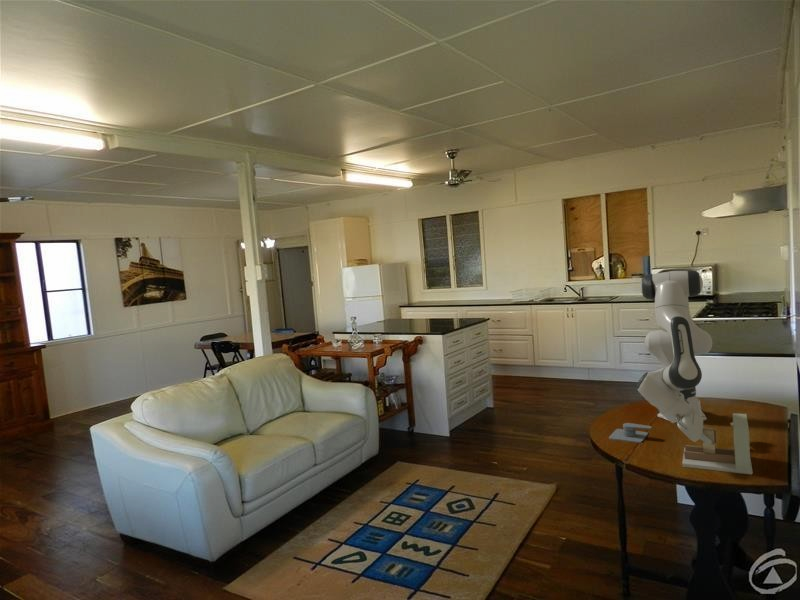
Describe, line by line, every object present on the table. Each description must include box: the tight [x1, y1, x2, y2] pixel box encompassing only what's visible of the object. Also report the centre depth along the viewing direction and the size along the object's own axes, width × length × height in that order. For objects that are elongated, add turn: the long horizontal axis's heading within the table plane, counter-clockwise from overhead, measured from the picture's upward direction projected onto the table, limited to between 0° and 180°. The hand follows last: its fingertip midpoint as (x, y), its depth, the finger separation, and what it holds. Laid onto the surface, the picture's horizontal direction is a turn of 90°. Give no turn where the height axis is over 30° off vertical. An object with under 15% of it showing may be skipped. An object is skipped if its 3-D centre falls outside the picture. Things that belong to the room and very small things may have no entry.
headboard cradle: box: [681, 413, 753, 475], centre depth 180 cm, size 16×20×15 cm
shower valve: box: [608, 422, 653, 444], centre depth 211 cm, size 12×6×15 cm
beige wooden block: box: [702, 427, 717, 454], centre depth 181 cm, size 4×4×8 cm
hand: (710, 440), depth 181 cm, fingers closed on beige wooden block, 3 cm apart
